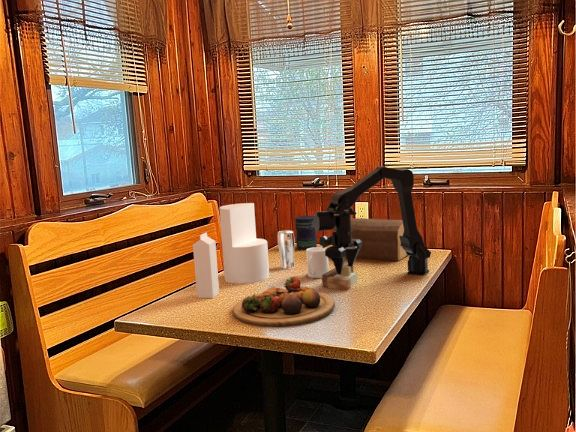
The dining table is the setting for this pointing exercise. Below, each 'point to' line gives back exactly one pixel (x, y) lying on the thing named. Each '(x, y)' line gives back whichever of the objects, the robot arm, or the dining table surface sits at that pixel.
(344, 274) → the square base with post
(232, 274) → the stepped white drum
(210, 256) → the milk
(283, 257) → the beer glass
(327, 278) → the cleat board
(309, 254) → the mug
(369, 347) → the dining table surface
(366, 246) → the wooden bread box
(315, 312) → the wooden plate with food
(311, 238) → the storage jar
